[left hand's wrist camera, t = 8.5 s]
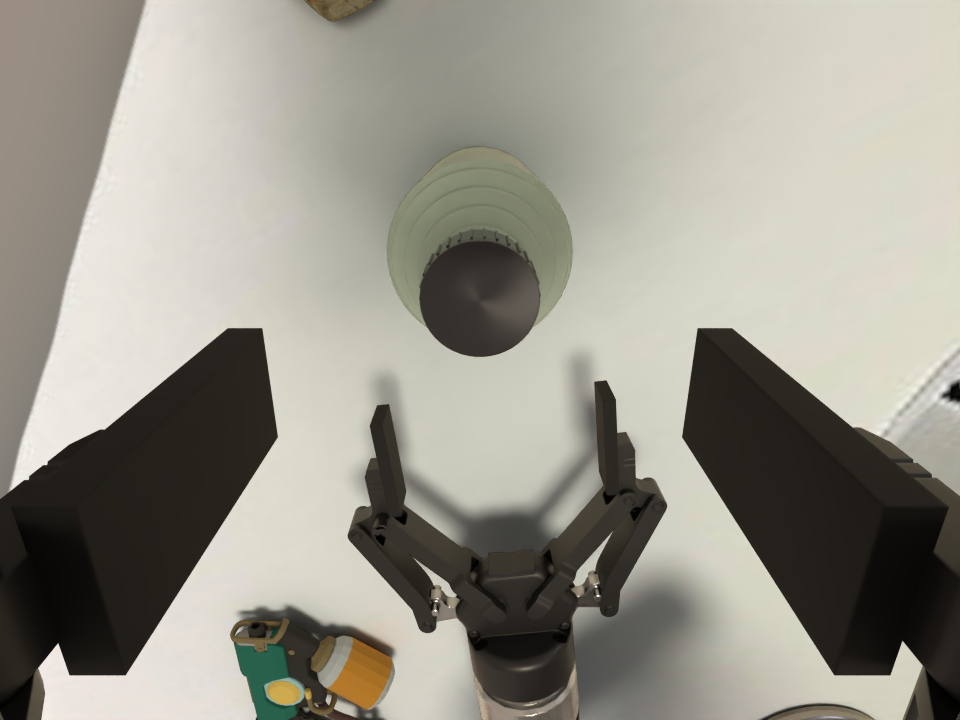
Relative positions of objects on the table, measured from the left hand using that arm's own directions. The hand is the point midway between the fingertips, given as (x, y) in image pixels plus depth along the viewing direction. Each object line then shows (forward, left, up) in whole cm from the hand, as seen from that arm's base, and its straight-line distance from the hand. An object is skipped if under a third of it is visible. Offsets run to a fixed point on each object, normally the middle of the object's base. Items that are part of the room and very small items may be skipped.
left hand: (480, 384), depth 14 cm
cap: (0, 0, -7) cm, 7 cm away
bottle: (0, 0, -26) cm, 26 cm away
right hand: (+9, +5, -20) cm, 22 cm away
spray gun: (+43, +6, -26) cm, 51 cm away
